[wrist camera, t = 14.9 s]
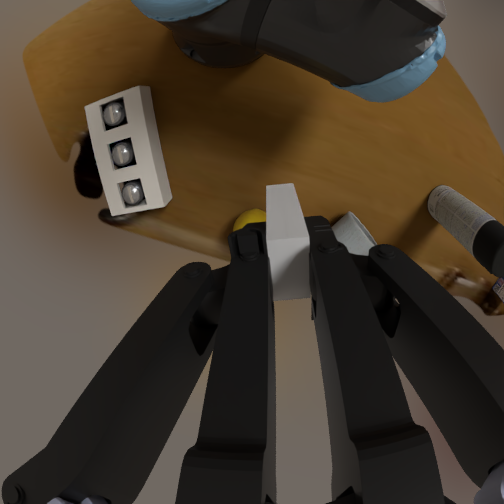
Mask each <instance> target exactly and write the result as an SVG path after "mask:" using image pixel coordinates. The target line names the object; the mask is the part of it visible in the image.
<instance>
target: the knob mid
mask: <svg viewBox="0 0 504 504" xmlns="http://www.w3.org/2000/svg"><path fill="white" fill-rule="evenodd" d="M111 156H112V159H113V161H114V163H115V164H117V165H119V166H124V165H127V164H128V163H130V162H132V161H134V160H136V159H135V154H134V150H133V145H132V141H131V139H130V140H127V141H124V142H121V143H118V144H116V145H115V146H114V147H113V149H112V153H111Z"/></svg>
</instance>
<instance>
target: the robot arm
mask: <svg viewBox="0 0 504 504" xmlns="http://www.w3.org/2000/svg"><path fill="white" fill-rule="evenodd" d="M131 2H132V3H133V4H134V5H135V6H136V7H138V8H139V10H140V11H141V12H142V13H143V14H144V15H146V16H147V17H148V18H152V19H154V20H156V21H158V22H159V23H161V24H163V25H164V26H166V27H167V28H169V29H170V30H172V32H173V37H174V39H175V42H176V44H177V45H178V47H179V48H180V50H181V51H182V52H183V53H184V54H185V55H187V56H188V57H189V58H191V59H193V60H194V61H196V62H198V63H200V64H203V65H206V66H209V67H215V68H232V67H238V66H242V65H245V64H248V63H250V62H252V61H254V60H256V59H258V58H259V57H261V56H262V55H263V54H267V55H269V56H272V57H275V58H277V59H280V60H283V61H285V62H288V63H290V64H292V65H295V66H297V67H299V68H302V69H304V70H306V71H309V72H311V73H313V74H315V75H317V76H319V77H321V78H324V79H326V80H328V81H330V83H331V84H332V85H333V86H335V87H337V88H339V89H343V90H347V91H349V92H351V93H353V94H355V95H357V96H359V97H361V98H363V99H365V100H368V101H372V102H389V101H393V100H396V99H399V98H401V97H403V96H405V95H407V94H408V93H410V92H412V91H413V90H415V89H416V88H417V87H419V86H420V85H421V84H422V83H423V82H424V81H426V80H427V79H428V78H429V76H430V75H431V74H432V73H433V72H434V70H435V69H436V67H437V63H436V61H438V60H439V59H441V58H442V57H443V55H444V52H445V47H446V41H445V36H444V34H443V32H442V30H441V28H440V27H439V26H438V25H439V24H440V23H441V22H442V21H443V19H444V18H445V17H446V16H447V14H446V10H445V6H444V2H443V0H131ZM228 243H229V248H230V253H231V263H230V264H229V265H227V266H225V267H222V268H219V269H215V270H211V267H210V265H208V264H207V263H204V262H192V263H189V264H187V265H185V266H183V267H181V268H180V269H179V270H178V271H177V272H176V273H175V274H174V275H173V277H172V278H171V279H170V280H169V281H168V283H167V284H166V285H165V286H164V287H163V289H162V290H161V291H160V292H159V293H158V295H157V296H156V297H155V299H154V300H153V301H152V302H151V303H150V305H149V306H148V307H147V308H146V310H145V311H144V312H143V313H142V315H141V316H140V317H139V318H138V320H137V321H136V322H135V323H134V325H133V326H132V327H131V329H130V330H129V331H128V332H127V334H126V335H125V336H124V338H123V339H122V340H121V342H120V343H119V344H118V346H117V347H116V348H115V349H114V351H113V352H112V353H111V355H110V356H109V357H108V359H107V360H106V361H105V363H104V364H103V365H102V367H101V368H100V369H99V371H98V372H97V374H96V375H95V376H94V378H93V379H92V380H91V382H90V383H89V385H88V386H87V387H86V389H85V390H84V392H83V393H82V394H81V396H80V397H79V399H78V400H77V402H76V403H75V404H74V406H73V407H72V409H71V410H70V412H69V413H68V415H67V416H66V417H65V419H64V420H63V422H62V423H61V425H60V426H59V428H58V429H57V431H56V432H55V434H54V435H53V437H52V438H51V440H50V442H49V443H48V445H47V446H46V447H45V448H44V449H43V450H42V451H40V452H39V453H38V454H36V455H35V456H34V457H33V458H31V459H30V460H29V461H28V462H26V463H25V464H24V465H22V466H21V467H20V468H19V469H17V470H16V471H15V472H13V473H12V474H11V475H9V476H8V477H7V478H6V479H5V481H4V482H3V486H2V499H3V502H4V504H132V503H133V502H134V501H135V499H136V498H137V496H138V494H139V493H140V491H141V490H142V488H143V486H144V484H145V482H146V480H147V479H148V477H149V475H150V473H151V471H152V469H153V467H154V465H155V463H156V461H157V459H158V457H159V455H160V454H161V451H162V450H163V448H164V446H165V443H166V442H167V440H168V438H169V436H170V434H171V432H172V430H173V428H174V426H175V424H176V422H177V420H178V418H179V416H180V414H181V413H182V411H183V409H184V407H185V405H186V403H187V401H188V399H189V397H190V395H191V393H192V391H193V389H194V387H195V385H196V383H197V381H198V379H199V377H200V375H201V373H202V371H203V369H204V367H205V365H206V363H207V361H208V359H209V357H210V355H211V353H212V351H213V355H212V360H211V365H210V371H209V376H208V382H207V387H206V393H205V399H204V404H203V410H202V416H201V421H200V427H199V433H198V438H197V442H196V444H195V445H194V446H193V447H191V448H189V449H188V450H187V452H186V454H185V456H184V459H183V463H182V467H181V473H180V478H179V484H178V490H177V497H176V502H175V504H276V470H275V469H276V377H275V376H276V372H275V319H274V318H275V317H274V302H273V301H278V300H290V299H301V298H310V297H311V295H312V317H311V318H312V320H314V323H315V329H316V335H317V342H318V348H319V354H320V361H321V369H322V376H323V383H324V390H325V399H326V407H327V416H328V425H329V434H330V444H331V455H332V467H333V470H332V484H331V485H332V502H329V503H326V504H456V503H455V502H453V501H452V500H450V499H448V498H447V497H446V496H444V495H443V489H442V484H441V479H440V474H439V469H438V465H437V460H436V456H435V452H434V448H433V444H432V441H431V438H430V436H429V433H428V431H426V429H425V428H424V427H423V426H420V425H416V424H415V423H414V421H413V419H412V417H411V413H410V410H409V407H408V403H407V400H406V396H405V393H404V390H403V387H402V384H401V380H400V378H399V375H398V371H397V369H396V366H395V363H394V360H393V358H394V359H395V361H396V362H397V364H398V365H399V366H400V368H401V369H402V371H403V372H404V374H405V375H406V377H407V379H408V380H409V381H410V383H411V384H412V386H413V388H414V389H415V391H416V392H417V394H418V395H419V397H420V399H421V400H422V402H423V403H424V405H425V406H426V408H427V409H428V411H429V413H430V414H431V416H432V418H433V419H434V421H435V423H436V424H437V426H438V428H439V429H440V431H441V433H442V434H443V436H444V438H445V439H446V441H447V443H448V445H449V446H450V448H451V450H452V452H453V453H454V455H455V457H456V459H457V460H458V462H459V464H460V465H461V467H462V468H463V470H464V472H465V473H466V474H467V475H468V476H469V478H470V479H471V480H472V481H473V482H474V483H475V484H476V485H477V486H478V487H480V488H481V490H480V491H478V492H477V494H476V495H475V498H474V504H504V350H503V349H502V347H501V346H500V345H499V344H498V343H497V342H496V341H495V339H494V338H493V337H492V336H491V335H490V334H489V333H488V332H487V331H486V330H485V329H484V328H483V327H482V325H481V324H480V323H479V322H478V321H477V320H476V319H475V318H474V317H473V316H472V315H471V314H470V313H469V312H468V311H467V310H466V309H465V308H464V307H463V306H462V305H461V304H460V303H459V302H458V301H457V300H456V299H455V298H454V297H453V296H452V295H451V294H450V293H449V292H448V291H446V290H445V289H444V288H443V287H442V286H441V285H440V284H439V283H438V282H437V281H436V280H435V279H433V278H432V277H431V276H430V275H429V274H428V273H427V272H426V271H424V270H423V269H422V268H421V267H420V266H419V265H418V264H416V263H415V262H414V261H413V260H412V259H411V258H409V257H408V256H407V255H406V254H405V253H404V252H402V251H401V250H400V249H398V248H396V247H394V246H391V245H388V244H386V245H385V244H381V245H375V246H373V247H371V248H370V249H369V253H368V256H367V255H357V254H352V253H349V251H348V249H347V247H346V246H345V245H344V244H343V243H341V242H339V241H337V239H336V236H335V234H334V232H333V230H332V228H331V226H330V224H329V222H328V220H327V219H326V218H324V217H323V216H311V217H303V214H302V210H301V207H300V204H299V201H298V198H297V194H296V191H295V188H294V185H293V183H289V184H278V185H268V186H266V221H264V222H254V223H247V224H246V225H245V226H244V227H243V228H242V229H238V230H236V231H234V232H232V233H231V234H230V235H229V236H228ZM395 298H396V299H397V300H398V302H399V304H398V303H397V302H396V300H395ZM392 356H393V357H392Z"/></svg>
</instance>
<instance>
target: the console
mask: <svg viewBox="0 0 504 504" xmlns="http://www.w3.org/2000/svg"><path fill="white" fill-rule="evenodd" d="M121 99H124V105H125V110H126V116H127V121H128V124H126V125H123V126H119V127H116V128H114V129H111V130H108V131H106V128H105V123H104V119H103V113H102V107H103V106H105V105H108V104H110V103H113V102H116V101H118V100H121ZM85 112H86V117H87V123H88V128H89V132H90V137H91V142H92V146H93V150H94V155H95V159H96V163H97V167H98V171H99V174H100V178H101V182H102V185H103V189H104V192H105V195H106V199H107V202H108V205H109V209H110V212H111V215H112V216H115V215H121V214H126V213H132V212H137V211H143V210H149V209H155V208H161V207H165V206H166V205H167V204H168V203H169V201H170V200H171V199H172V194H171V190H170V186H169V181H168V177H167V172H166V168H165V163H164V159H163V154H162V149H161V145H160V140H159V135H158V130H157V124H156V119H155V114H154V108H153V102H152V97H151V90H150V86H136V87H133V88H130V89H127V90H125V91H122V92H119V93H116V94H114V95H111V96H109V97H106V98H104V99H101V100H99V101H97V102H94V103H92V104H90V105H87V106H85ZM129 137H131V141H132V145H133V150H134V154H135V159H136V163H137V164H136V165H132V166H128V167H125V168H121V169H117V170H115V168H114V164H113V160H112V156H111V151H110V147H109V144H110V143H113V142H116V141H119V140H123V139H126V138H129ZM138 178H140V179H141V183H142V187H143V191H144V195H145V198H146V199H144V200H141V201H140V202H139V203H138V204H136V205H130V204H128V203H124V201H123V198H122V194H121V190H120V187H119V183H121V182H125V181H129V180H134V179H138Z"/></svg>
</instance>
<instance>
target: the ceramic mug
mask: <svg viewBox="0 0 504 504" xmlns="http://www.w3.org/2000/svg"><path fill="white" fill-rule="evenodd" d="M331 228H332V230H333V232H334V234H335V236H336V239H337V241H339V242H341V243H343V244H344V245H345V246H346V247H347V249H348V251H349V253H352V254H357V255H367V256H368V253H369V249H370V248H371V247H373V246H375V245H377V243H376V242H375V240H374V239H373V237H372V236H371V235H370V233H369V232H368V231H367V229H366V228H365V227H364V225H363V224H362V223H361V222H360V221H359V219H358V218H357V217H356V216H355V215H354V214H353V213H351V212H347V213H346V214H345V215H344V216H343V217H342V218H341V219H340V220H339V221H338V222H337V223H336V224H334V225H333V226H332V227H331Z"/></svg>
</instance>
